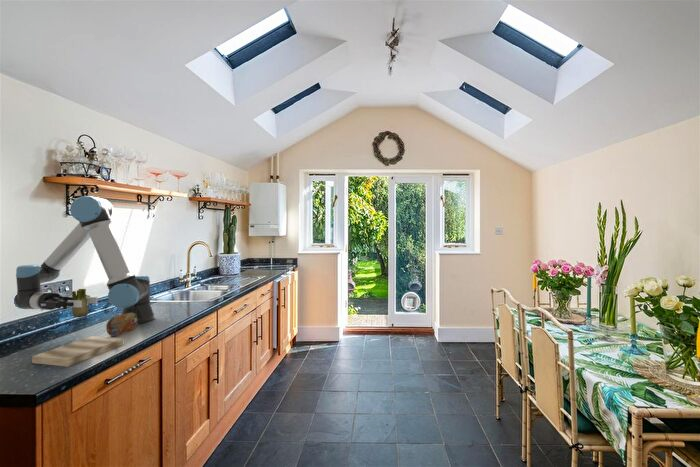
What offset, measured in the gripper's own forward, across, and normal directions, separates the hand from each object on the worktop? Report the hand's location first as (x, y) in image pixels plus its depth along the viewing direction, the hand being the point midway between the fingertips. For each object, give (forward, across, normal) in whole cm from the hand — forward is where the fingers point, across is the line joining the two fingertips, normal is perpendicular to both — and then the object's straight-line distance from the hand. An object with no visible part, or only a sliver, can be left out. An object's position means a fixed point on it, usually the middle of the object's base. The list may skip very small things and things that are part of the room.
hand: (88, 302), depth 143 cm
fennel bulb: (-5, 0, -7) cm, 8 cm away
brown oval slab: (+4, -12, -17) cm, 21 cm away
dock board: (+10, +12, -17) cm, 23 cm away
